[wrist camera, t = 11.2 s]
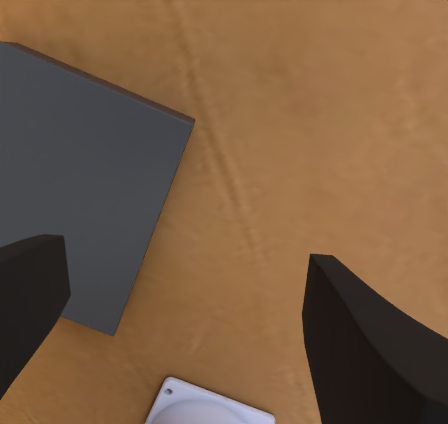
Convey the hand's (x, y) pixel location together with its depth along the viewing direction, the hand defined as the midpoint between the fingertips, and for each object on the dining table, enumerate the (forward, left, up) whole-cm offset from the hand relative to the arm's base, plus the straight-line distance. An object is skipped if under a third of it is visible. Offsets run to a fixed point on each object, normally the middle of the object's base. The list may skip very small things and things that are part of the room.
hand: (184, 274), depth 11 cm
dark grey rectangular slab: (-4, +7, -10) cm, 13 cm away
